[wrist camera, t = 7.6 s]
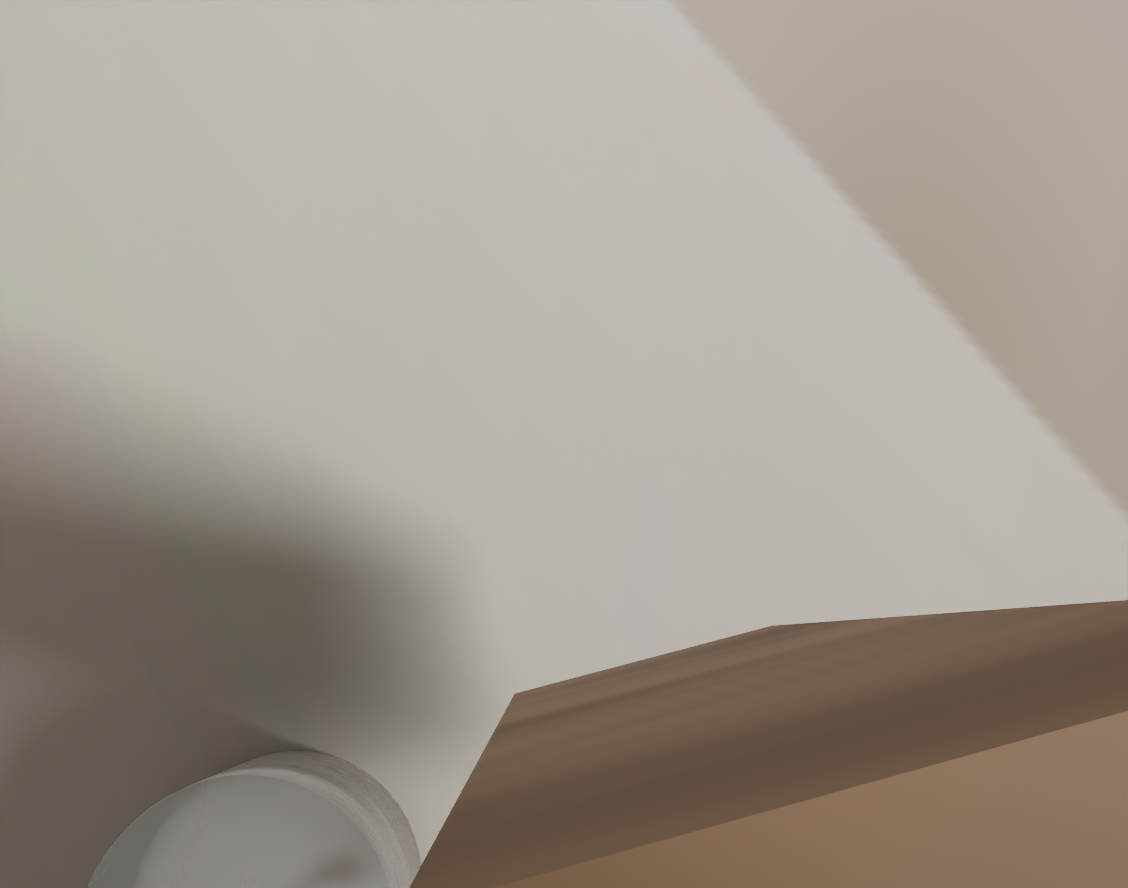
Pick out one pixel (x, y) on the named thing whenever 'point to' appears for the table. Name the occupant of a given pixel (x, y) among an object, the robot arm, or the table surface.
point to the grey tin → (268, 831)
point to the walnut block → (817, 762)
